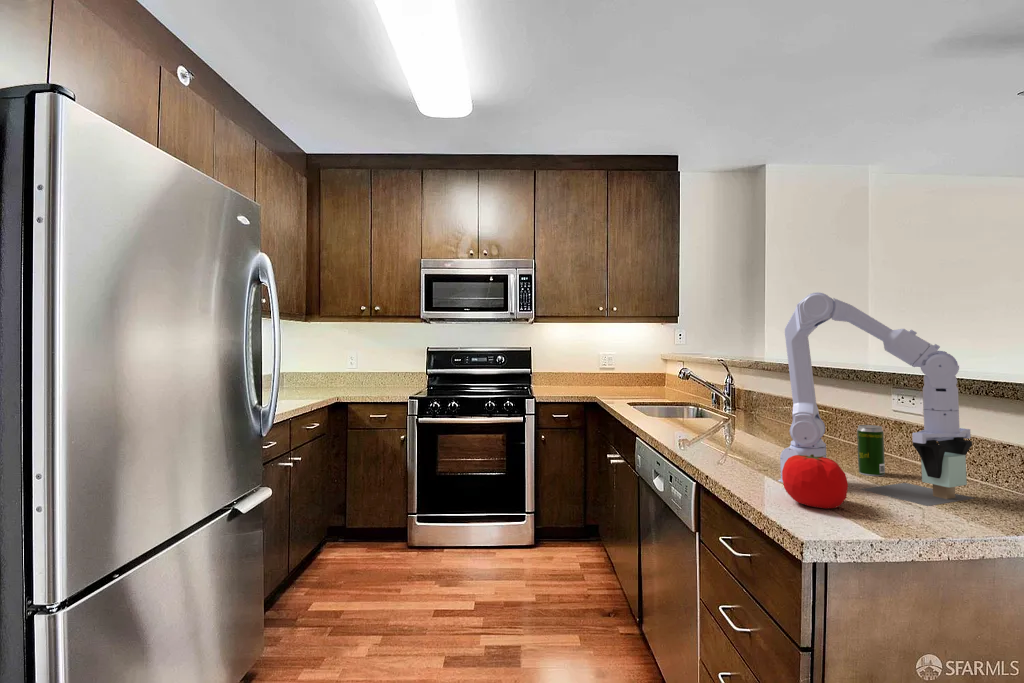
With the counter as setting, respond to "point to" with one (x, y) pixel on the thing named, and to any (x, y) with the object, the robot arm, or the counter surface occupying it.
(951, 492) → the beech post
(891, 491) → the rubber mat
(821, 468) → the tomato
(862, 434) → the beer can
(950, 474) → the pale green block
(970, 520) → the counter surface
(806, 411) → the robot arm
